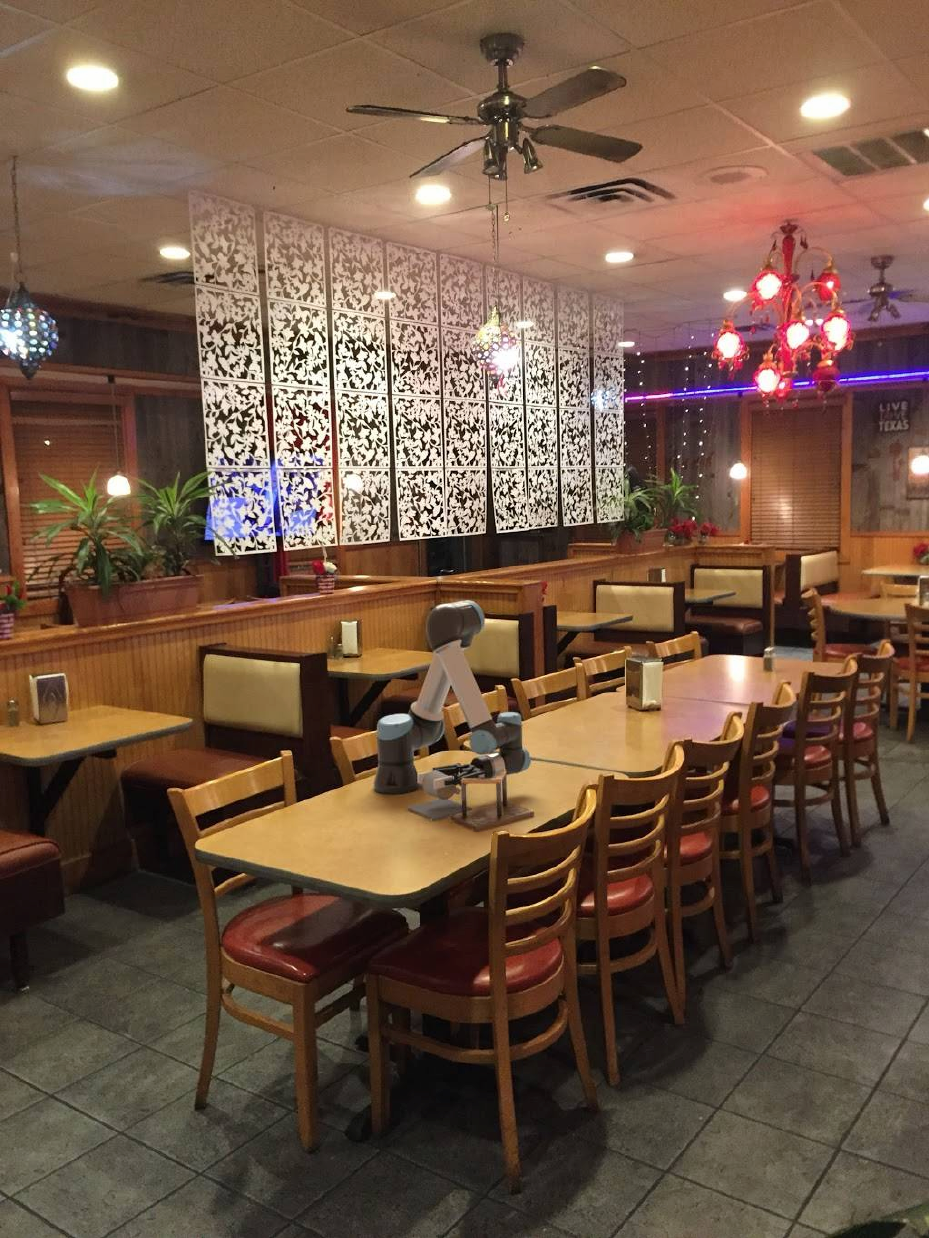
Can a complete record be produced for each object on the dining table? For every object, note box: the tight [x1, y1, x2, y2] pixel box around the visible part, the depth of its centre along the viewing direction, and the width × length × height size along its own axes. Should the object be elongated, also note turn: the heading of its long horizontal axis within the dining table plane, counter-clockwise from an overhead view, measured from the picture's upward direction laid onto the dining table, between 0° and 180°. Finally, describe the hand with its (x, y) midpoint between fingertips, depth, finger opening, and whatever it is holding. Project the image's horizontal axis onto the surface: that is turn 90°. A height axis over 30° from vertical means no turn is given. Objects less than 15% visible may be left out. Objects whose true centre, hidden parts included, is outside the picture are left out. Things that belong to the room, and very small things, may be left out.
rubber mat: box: [407, 798, 473, 821], centre depth 301 cm, size 14×14×1 cm
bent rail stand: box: [449, 769, 535, 832], centre depth 291 cm, size 13×21×13 cm, turn 126°
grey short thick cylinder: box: [422, 770, 461, 800], centre depth 301 cm, size 11×8×8 cm
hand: (426, 781), depth 297 cm, fingers closed on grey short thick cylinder, 8 cm apart
